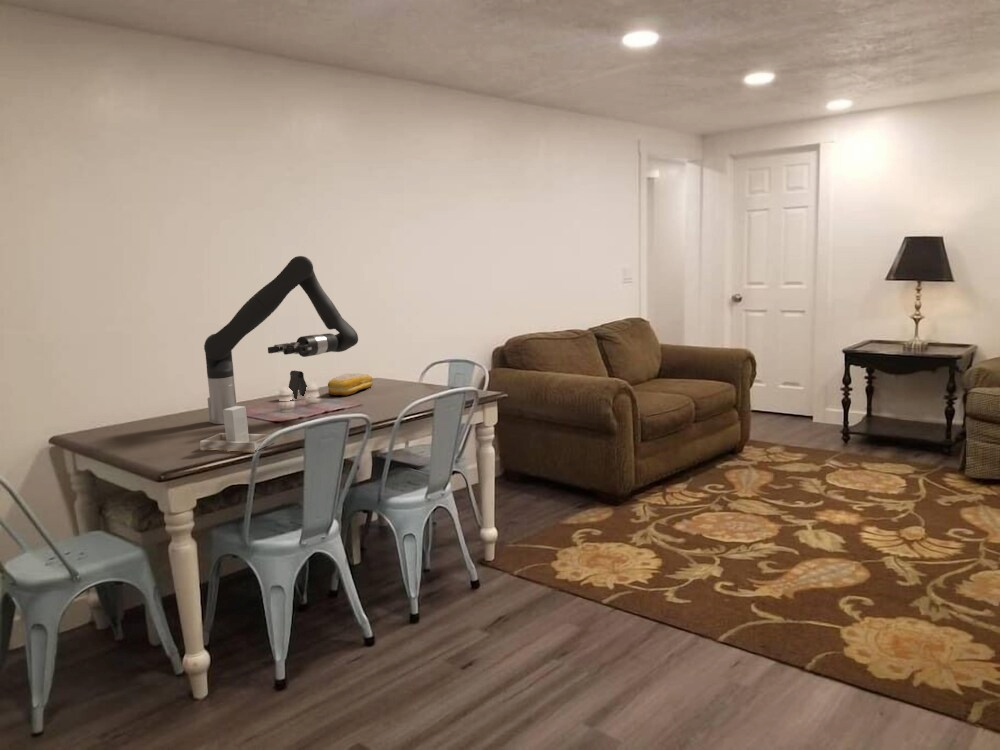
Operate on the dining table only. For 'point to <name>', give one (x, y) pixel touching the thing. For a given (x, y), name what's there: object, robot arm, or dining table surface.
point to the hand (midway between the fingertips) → (276, 351)
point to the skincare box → (236, 424)
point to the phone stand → (297, 383)
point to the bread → (349, 384)
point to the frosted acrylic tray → (232, 443)
